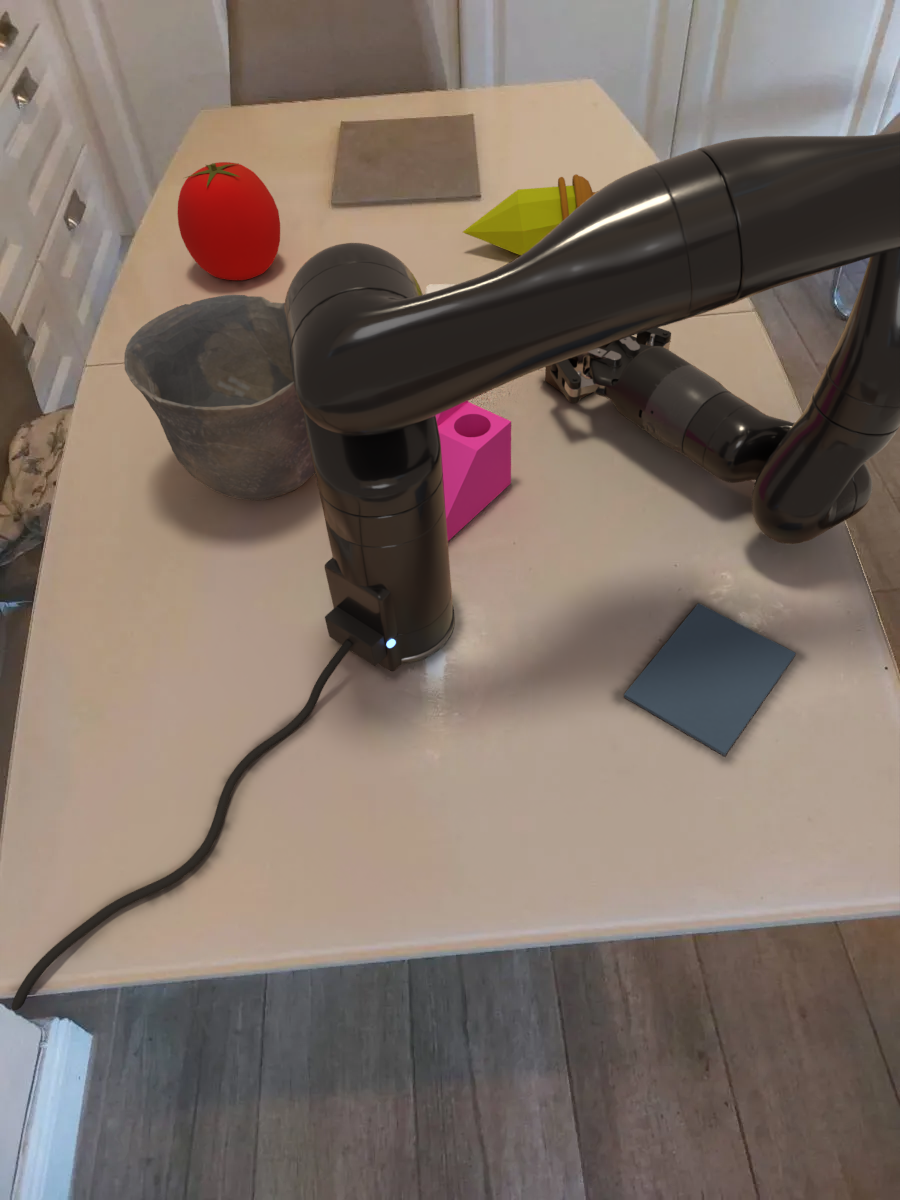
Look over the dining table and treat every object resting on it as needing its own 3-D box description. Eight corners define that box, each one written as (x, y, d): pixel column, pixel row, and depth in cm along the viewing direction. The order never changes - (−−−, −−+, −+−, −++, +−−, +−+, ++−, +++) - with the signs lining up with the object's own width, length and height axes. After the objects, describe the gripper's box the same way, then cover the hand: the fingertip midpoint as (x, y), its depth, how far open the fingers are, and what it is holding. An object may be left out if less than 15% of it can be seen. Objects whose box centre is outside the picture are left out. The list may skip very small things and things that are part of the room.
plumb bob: (466, 278, 116) (665, 247, 113) (454, 204, 111) (662, 169, 108) (468, 257, 124) (655, 227, 120) (457, 187, 118) (652, 153, 115)
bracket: (431, 444, 95) (424, 360, 87) (510, 483, 90) (511, 398, 82) (353, 508, 89) (338, 425, 81) (434, 554, 84) (426, 470, 77)
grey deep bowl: (154, 537, 88) (100, 413, 76) (184, 422, 99) (142, 298, 88) (337, 528, 87) (311, 401, 76) (347, 413, 99) (326, 288, 87)
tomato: (182, 294, 116) (149, 184, 105) (204, 249, 123) (176, 141, 113) (278, 294, 115) (255, 183, 104) (295, 248, 122) (275, 140, 112)
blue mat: (724, 756, 69) (725, 753, 69) (623, 696, 73) (623, 694, 73) (795, 655, 75) (796, 652, 75) (697, 605, 79) (698, 602, 79)
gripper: (733, 341, 87) (611, 269, 97) (623, 399, 82) (506, 318, 92) (719, 404, 93) (605, 331, 103) (616, 462, 88) (506, 380, 98)
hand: (559, 325), depth 97 cm, fingers closed on walnut block, 4 cm apart
